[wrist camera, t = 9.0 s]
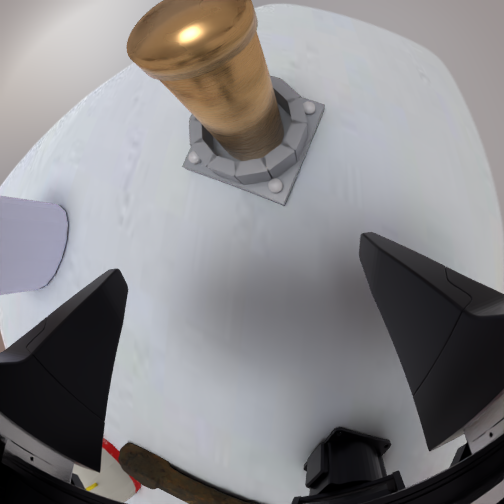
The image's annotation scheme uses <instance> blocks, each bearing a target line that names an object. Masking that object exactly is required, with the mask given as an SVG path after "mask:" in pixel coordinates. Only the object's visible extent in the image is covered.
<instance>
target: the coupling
mask: <svg viewBox="0 0 504 504" xmlns="http://www.w3.org/2000/svg"><path fill="white" fill-rule="evenodd" d="M257 24H258V22H257V17H256V13H255V10H254V7H253V4H252V1H251V0H163V1H162V2H160V3H159V4H157V5H156V6H155V7H153V8H152V9H151V10H150V11H148V12H147V13H146V14H145V15H144V16H143V17H142V18H141V19H140V20H139V22H138V23H137V24H136V25H135V27H134V29H133V30H132V32H131V34H130V36H129V38H128V42H127V53H128V56H129V57H130V59H131V60H132V61H133V62H134V63H136V64H137V65H138V66H139V67H140V68H141V69H142V70H143V71H144V72H145V73H146V74H147V75H149V76H150V77H152V78H154V79H157V80H160V81H161V82H162V83H163V84H164V85H165V86H166V87H167V88H168V89H169V90H170V91H171V92H172V93H173V94H174V95H175V96H176V97H177V99H178V100H179V101H180V102H181V103H182V104H183V105H184V106H185V107H186V108H187V109H188V110H189V111H190V112H191V113H192V114H193V115H194V116H195V117H196V118H197V120H198V121H199V122H200V123H201V124H202V125H203V126H204V127H205V128H206V129H207V130H208V131H209V133H210V134H211V135H212V136H213V137H214V138H215V139H216V140H217V141H218V142H219V143H220V145H221V146H222V147H223V148H224V149H225V150H226V151H227V152H228V153H229V154H230V155H231V156H232V157H233V158H235V159H237V160H240V161H247V160H253V159H259V158H263V157H264V156H266V155H267V154H268V153H270V152H271V151H272V150H274V149H275V148H276V147H278V146H279V145H280V144H281V143H282V140H283V136H284V128H283V124H282V120H281V116H280V112H279V108H278V104H277V100H276V97H275V93H274V89H273V86H272V82H271V78H270V75H269V71H268V68H267V65H266V61H265V58H264V54H263V51H262V48H261V45H260V41H259V38H258V35H257V32H256V30H257Z"/></svg>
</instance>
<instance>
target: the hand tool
mask: <svg viewBox="0 0 504 504" xmlns="http://www.w3.org/2000/svg"><path fill="white" fill-rule="evenodd" d="M118 461H119V464H120V465H121V468H122V470H123V471H124V472H126V473H127V474H128V475H129V476H132V477H133V478H134V479H135V480H137V481H138V482H139V483H141V484H142V485H144V486H146V487H148V488H150V489H156V488H159V489H161V490H163V491H165V492H167V493H169V494H171V495H173V496H175V497H177V498H179V499H181V500H183V501H185V502H187V503H189V504H256V503H255V502H252V503H248V502H245V501H242V500H239V499H236V498H234V497H231V496H228V495H226V494H223V493H221V492H219V491H216V490H215V489H213V488H210V487H207V486H205V485H203V484H201V483H199V482H197V481H195V480H193V479H191V478H189V477H187V476H185V475H183V474H181V473H179V472H178V471H176V470H174V469H173V468H171V467H170V463H169V462H168V461H166V460H164V459H163V458H161V457H159V456H157V455H155V454H153V453H151V452H149V451H147V450H145V449H143V448H140V447H138V446H136V445H133V444H131V443H127V444H125V445H124V446H123V447H122V448H121V450H120V454H119V457H118Z"/></svg>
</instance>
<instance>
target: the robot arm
mask: <svg viewBox="0 0 504 504" xmlns="http://www.w3.org/2000/svg"><path fill="white" fill-rule="evenodd" d="M359 257H360V261H361V264H362V267H363V269H364V272H365V275H366V278H367V281H368V284H369V287H370V290H371V293H372V295H373V297H374V300H375V302H376V304H377V306H378V309H379V311H380V313H381V315H382V318H383V320H384V322H385V325H386V327H387V329H388V332H389V334H390V336H391V339H392V341H393V344H394V346H395V349H396V351H397V354H398V357H399V359H400V362H401V364H402V367H403V370H404V372H405V375H406V378H407V381H408V384H409V387H410V389H411V392H412V395H413V399H414V402H415V405H416V408H417V411H418V415H419V418H420V421H421V425H422V428H423V432H424V435H425V439H426V443H427V446H428V449H429V451H432V450H434V449H436V448H438V447H440V446H442V445H444V444H446V443H448V442H450V441H452V440H454V439H455V438H457V437H459V436H461V435H463V434H465V437H466V440H467V443H466V444H464V445H463V446H461V447H460V448H458V450H457V452H456V454H455V457H454V459H453V461H452V463H451V465H450V467H449V468H448V469H446V470H444V471H442V472H440V473H438V474H436V475H434V476H432V477H430V478H428V479H426V480H424V481H421V482H419V483H417V484H415V485H412V486H410V487H407V488H405V485H404V483H403V480H402V477H401V475H400V472H399V471H396V472H393V474H391V475H388V476H387V474H386V470H385V466H384V462H383V459H382V455H383V454H384V453H385V452H386V451H387V450H388V449H389V448H390V446H391V443H390V441H389V440H385V439H381V438H377V437H373V436H369V435H365V434H361V433H358V432H354V431H351V430H347V429H344V428H340V427H339V428H336V429H335V430H334V431H333V432H332V433H331V434H330V436H329V437H328V438H327V439H326V441H325V442H324V443H321V444H320V445H319V446H318V447H317V449H316V450H315V451H314V452H313V453H312V454H311V455H310V457H309V458H308V461H307V463H306V464H305V465H304V470H305V471H307V474H306V484H305V485H306V487H307V488H310V493H309V496H305V497H301V496H298V497H294V499H293V501H292V504H504V294H502V293H500V292H498V291H496V290H494V289H492V288H490V287H487V286H485V285H483V284H481V283H479V282H476V281H474V280H472V279H470V278H468V277H466V276H464V275H462V274H460V273H458V272H456V271H454V270H452V269H450V268H448V267H445V266H444V265H442V264H440V263H438V262H436V261H434V260H432V259H430V258H428V257H426V256H424V255H421V254H419V253H417V252H415V251H413V250H411V249H409V248H407V247H404V246H402V245H400V244H398V243H396V242H394V241H391V240H389V239H387V238H385V237H382V236H380V235H378V234H376V233H373V232H367V233H362V234H361V237H360V249H359ZM127 294H128V286H127V283H126V281H125V279H124V277H123V275H122V273H121V271H120V270H119V269H110V270H108V271H106V272H105V273H104V274H102V275H101V276H100V277H98V278H97V279H95V280H94V281H93V282H91V283H90V284H89V285H87V286H86V287H85V288H83V289H82V290H81V291H79V292H78V293H77V294H75V295H74V296H73V297H71V298H70V299H69V300H68V301H66V302H65V303H64V304H62V305H61V306H60V307H59V308H57V309H56V310H55V311H54V312H52V313H51V314H50V315H49V316H48V317H46V318H45V319H44V320H43V321H41V322H40V323H39V324H38V325H36V326H35V327H34V328H33V329H31V330H30V331H29V332H28V333H26V334H25V335H24V336H22V337H21V338H20V339H19V340H17V341H16V342H15V343H13V344H12V345H11V346H10V347H8V348H7V349H6V350H4V351H3V352H1V353H0V504H127V503H123V502H120V501H116V500H113V499H110V498H107V497H104V496H101V495H98V494H95V493H93V492H90V491H87V490H86V489H85V487H84V485H83V483H82V482H81V480H80V478H79V476H78V475H77V474H74V473H73V468H74V464H75V465H78V466H81V467H83V468H86V469H89V470H92V471H95V472H98V473H100V471H101V458H102V445H103V434H104V425H105V422H104V421H105V416H106V408H107V401H108V395H109V389H110V383H111V377H112V372H113V367H114V362H115V357H116V352H117V347H118V343H119V338H120V334H121V330H122V325H123V320H124V313H125V307H126V300H127ZM337 432H341V433H337ZM386 444H387V445H386ZM384 445H385V446H384Z"/></svg>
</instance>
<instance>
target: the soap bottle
mask: <svg viewBox="0 0 504 504" xmlns="http://www.w3.org/2000/svg"><path fill="white" fill-rule="evenodd" d="M67 229H68V221H67V216H66V212H65V211H64V210H63V209H62V208H61V207H60V206H59V205H58V204H53V203H46V202H39V201H33V200H26V199H19V198H12V197H5V196H0V295H3V294H10V293H17V292H24V291H31V290H38V289H40V288H42V287H43V286H45V285H46V284H48V282H49V281H50V280H51V278H52V277H53V276H54V274H55V272H56V270H57V268H58V266H59V263H60V261H61V259H62V256H63V252H64V248H65V244H66V241H67Z"/></svg>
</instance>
